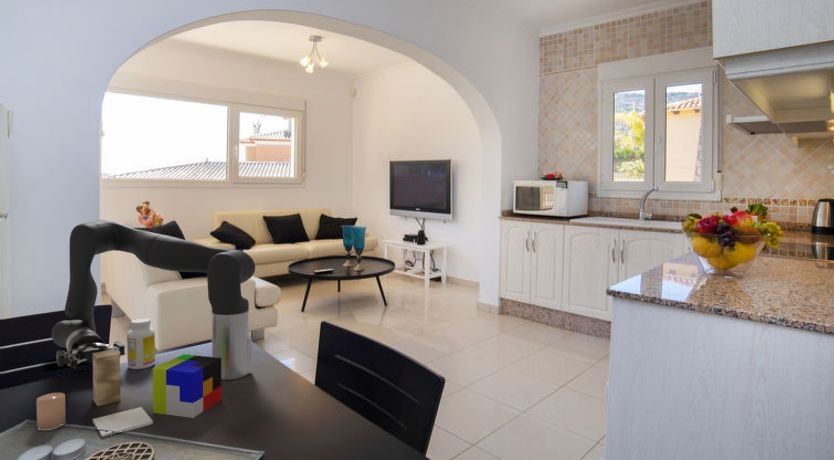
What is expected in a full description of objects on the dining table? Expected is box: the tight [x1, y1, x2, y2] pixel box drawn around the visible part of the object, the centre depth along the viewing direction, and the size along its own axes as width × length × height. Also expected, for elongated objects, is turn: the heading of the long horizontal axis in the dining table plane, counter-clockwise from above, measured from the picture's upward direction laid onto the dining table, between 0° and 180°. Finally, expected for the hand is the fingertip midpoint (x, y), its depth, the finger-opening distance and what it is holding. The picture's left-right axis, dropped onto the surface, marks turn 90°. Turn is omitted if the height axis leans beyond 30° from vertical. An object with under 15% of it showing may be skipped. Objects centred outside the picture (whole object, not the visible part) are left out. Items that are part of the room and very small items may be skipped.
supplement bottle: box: [126, 318, 156, 370], centre depth 132 cm, size 7×7×13 cm
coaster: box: [92, 406, 154, 436], centre depth 99 cm, size 9×9×1 cm
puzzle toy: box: [152, 353, 222, 419], centre depth 108 cm, size 10×10×10 cm
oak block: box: [92, 350, 121, 407], centre depth 110 cm, size 4×4×11 cm
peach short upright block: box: [36, 392, 67, 429], centre depth 97 cm, size 5×5×6 cm
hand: (96, 360), depth 117 cm, fingers open, 8 cm apart
